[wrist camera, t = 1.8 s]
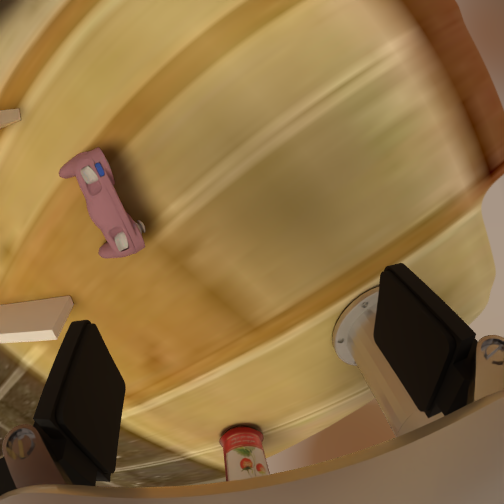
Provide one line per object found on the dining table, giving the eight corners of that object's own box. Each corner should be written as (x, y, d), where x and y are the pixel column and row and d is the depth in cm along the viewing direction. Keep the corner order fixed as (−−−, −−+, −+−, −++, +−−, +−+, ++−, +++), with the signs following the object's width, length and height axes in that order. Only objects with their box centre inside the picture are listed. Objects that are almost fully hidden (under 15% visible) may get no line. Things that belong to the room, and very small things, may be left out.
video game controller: (140, 234, 31) (161, 250, 25) (101, 258, 29) (113, 280, 23) (98, 144, 26) (109, 136, 21) (55, 167, 24) (54, 165, 19)
